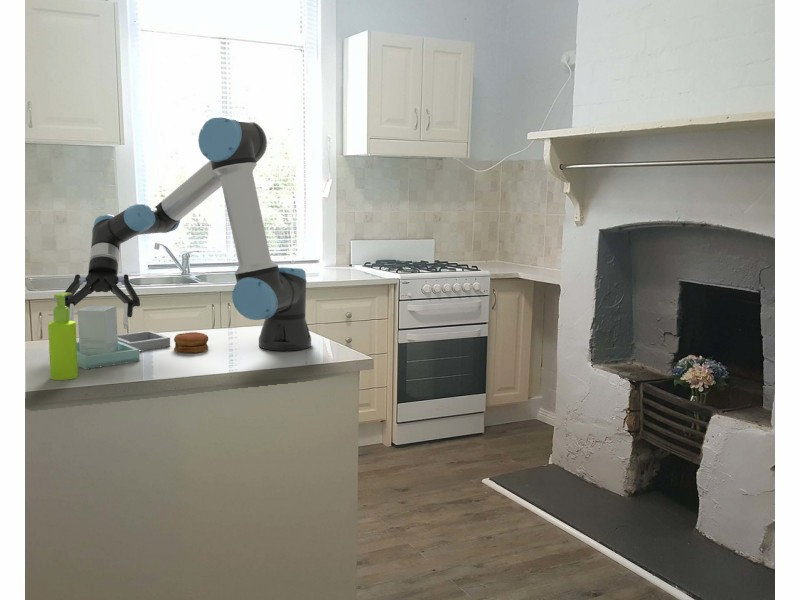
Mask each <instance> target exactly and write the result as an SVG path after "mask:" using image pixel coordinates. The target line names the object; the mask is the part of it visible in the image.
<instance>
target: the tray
mask: <svg viewBox="0 0 800 600" xmlns="http://www.w3.org/2000/svg"><path fill="white" fill-rule="evenodd" d="M140 359H141V358H140V351H139V349H137V348H134V347H132V346H129V345H127V344H124V343H122V342H119V341H118V352H113V353H106V354H99V355H93V356H86V355H84V354H81V353H80V348H79V341H77V364H78V367H79V366H80V368H82V369H83V370H90V369H89V368H91V369H96V368H95V367H98V368H101V367H100V366H104V367H107V366H106V365H110V366H114V365H113V364H116V365H121V364H120V363H122V364H127V363H126V362H129V363H133V362H132V361H135V362H140V361H141V360H140Z"/></svg>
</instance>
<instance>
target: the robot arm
mask: <svg viewBox="0 0 800 600" xmlns="http://www.w3.org/2000/svg"><path fill="white" fill-rule="evenodd" d="M197 141H198V146H199V150H200V152H201V154H202V155H203V156H204V157H205V158H206V159H207V160H209V161H208V162H206V163H205V164H204V165H203V166H202V167H201V168H199V169H198V170H197V171H196V172H194V173H193V174H192V175H191V176H190V177H189V178H188V179H186V180H185V181H184V182H183V183H182V184H181V185H179V186H178V187H177V188H176V189H174V190H173V191H172V192H171V193H170V194H169V195H168V196H166V197H165V198H163V200H161V201H160V202H159V203H158V204H156V205H155V206H154V207H150V206H148V205H147V204H145V203H143V202H139V203H138V202H137V203H135V204H133V205H130V206H128V207H127V208H126V209H124V210H123V211H121V212H119V213H118V214H116V215H112V214H105V215H99V216H97V217H96V218H95V219H94V223H93V227H92V233H91V234H92V235H91V246H90V247H91V248H90V255H89V262H88V273H87V275H86V276H80V274H75V275H74V278H73V279H74V280H73V281H72V283H70V285H69V286H68V287H67V288H66V290H65V291H64V292H68V293H72V294H71V295H67V296H65V306H67V307H69V313H70V320H71V321H74V319H75V310H76V309H75V306H77V305H78V304H79V303H80V302H81V301H83V300H84V299H85V298H87V296H89V295H91V294H92V293H93V292H95V293H101V292H103V293H108V292H111V293H112V294H113V295H115V296H116V297H117V298H118V299H120V300H121V302H122V303H124V310H123V323H122V324H123V325H122V326H123V329H124V330H128V323H129V321H128V320H129V318H132V317H133V311H134V307H140V306H141V300H140V297H139V296H138V294H137V292H136V290H134V287H133V285H132V284H131V283H130V279H129V274H126V273H125V274H124V275H123V276H118V273H119V271H118V270H119V262H120V261H119V260H120V249H121V247H120V246H121V245H122V244H123V243H126V242H127V241H128V240H130V239H132V238H134V237H136V236H139V235H150V234H161V233H162V234H167V233H169V232H173V231H175V230H177V229H178V228H179V225H180V222H181V220H182V219H183V218H184V217H186V216H187V215H188V214H190V213H191V212H192V211H193V210H194V209H196V208H197V207H198V206H199V205H200V204H202V203H203V202H204V201H205V200H207V199H208V198H209V197H211V195H212V194H214V193H216V191H218V190H219V189H220V188H222V192H223V197H224V203H225V206H226V210H227V215H228V220H229V223H230V230H231V233H232V238H233V244H234V248H235V252H236V253H235V254H236V257H237V261H238V268H237V269H236V270H235V272H234V276H235V280H236V283H235V285H234V287H233V289H232V292H231V299H232V303H233V306H234V308H235V309H236V311H237V312H238V313H239V314H240V315H242V316H243V317H244V318H246V319H248V320H251V321H252V320H253V321H260V320H264V321H263V324H262V326H261V331H260V335H258V347H260V348H261V349H264V350H266V351H267V350H268V351H277V352H289V351H290V352H292V351H294V352H295V351H300V350H301V351H302V350H304V349H308V348H310V347H311V346H312V336H311V333H310V330H309V327H308V326H309V325H308V323H307V319H306V307H307V305H306V304H307V303H306V300H307V276H306V275H307V274H306V271H305V269H303V268H300V267H299V268H297V267H285V266H279V264H277V263H276V262H275V261H273V260H272V258H271V255H270V254H271V253H270V250H269V243H268V239H267V236H266V235H267V234H266V231H265V229H266V228H265V225H264V221H263V217H262V210H261V206H260V202H259V198H258V197H259V196H258V192H257V187H256V182H255V177H254V173H253V172H254V170H255V169H256V167H257V163H258V162H259V161H260V160H261V159H262V158H263V156H264V154H265V153H266V149H267V147H268V140H267V135H266V133H265V131H264V130H263V128H262V127H261V126H260V125H259V124H258V123H256V122H255V121H253V120H251V119H250V120H249V119H243V118H242V119H241V118H238V117H233V116H230V115H223V116H222V115H217V116H213V117H211V118H209V119H208V120H206V122H205V123H204V124H203V126H202V127H201V129H200V131H199V134H198V139H197ZM84 283H86V284H84ZM119 283H121V284H122V286H124V287H125V289H126V291H127V293H128V294H129V296H130V297H131V298H130V297H129V296H128V295H127V294H126V293H125V292H124V291H123V290H122V289H121V288H120V287H119V286H118V284H119ZM83 284H84V286H83ZM80 286H83V287H82V288H80Z"/></svg>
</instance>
